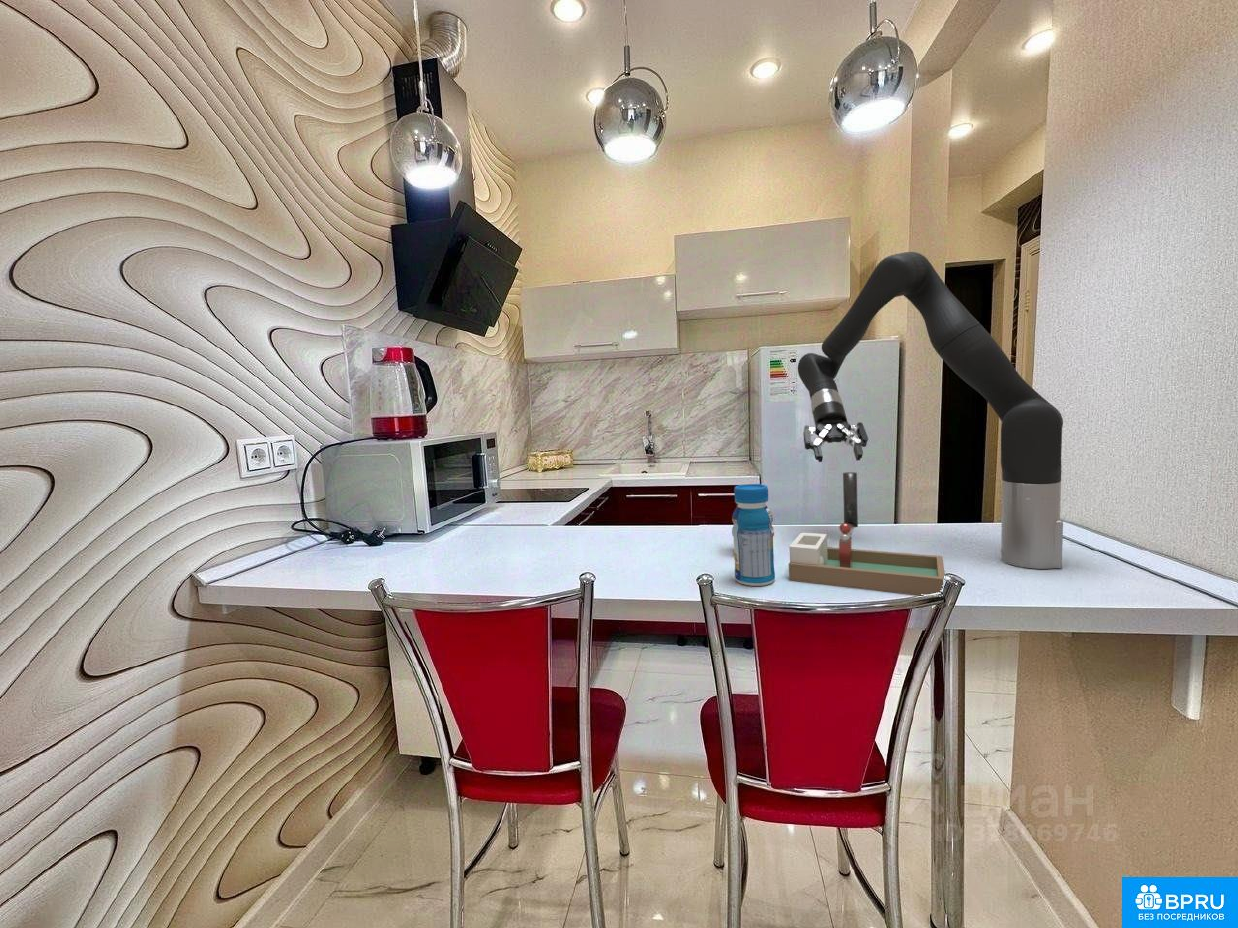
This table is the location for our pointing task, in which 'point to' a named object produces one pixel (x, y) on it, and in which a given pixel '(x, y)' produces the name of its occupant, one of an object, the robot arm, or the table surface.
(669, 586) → the table surface
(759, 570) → the beverage bottle
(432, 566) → the table surface
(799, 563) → the pitch
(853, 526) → the rod
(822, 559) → the ball
